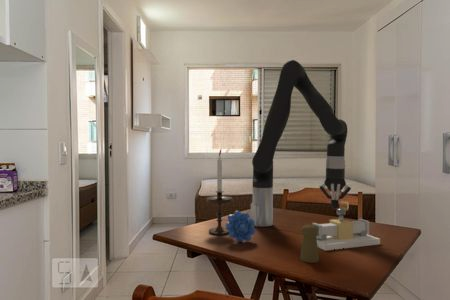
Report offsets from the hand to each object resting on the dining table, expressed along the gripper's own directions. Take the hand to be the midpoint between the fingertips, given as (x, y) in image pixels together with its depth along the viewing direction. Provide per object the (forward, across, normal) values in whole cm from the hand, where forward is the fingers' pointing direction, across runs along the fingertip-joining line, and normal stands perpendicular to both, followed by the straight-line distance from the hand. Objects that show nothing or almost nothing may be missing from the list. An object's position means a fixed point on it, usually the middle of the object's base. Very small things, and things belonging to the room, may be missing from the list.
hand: (334, 208), depth 146 cm
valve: (+10, -1, +14) cm, 17 cm away
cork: (+10, +12, +36) cm, 39 cm away
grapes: (+11, +36, +22) cm, 43 cm away
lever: (0, -2, +6) cm, 7 cm away
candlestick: (+11, +47, +9) cm, 49 cm away
